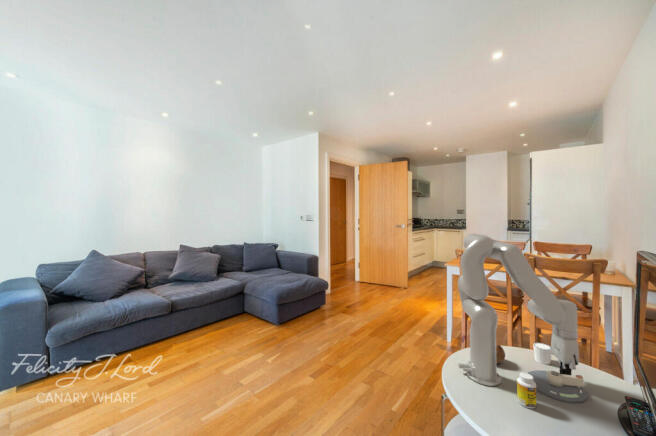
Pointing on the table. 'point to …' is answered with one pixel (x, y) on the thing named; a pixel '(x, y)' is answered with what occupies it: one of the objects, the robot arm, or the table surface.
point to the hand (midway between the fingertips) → (565, 377)
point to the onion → (499, 354)
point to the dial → (558, 389)
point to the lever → (564, 379)
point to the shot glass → (542, 353)
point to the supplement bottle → (526, 390)
